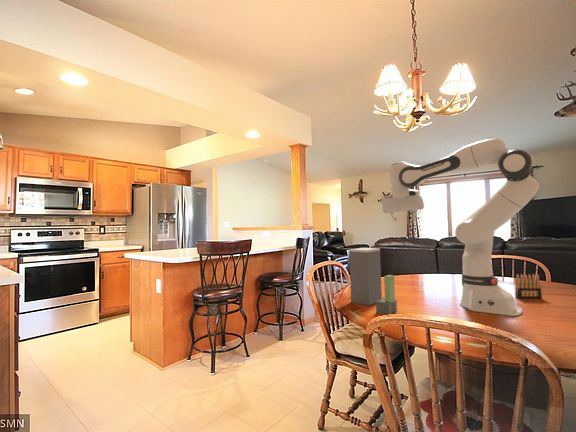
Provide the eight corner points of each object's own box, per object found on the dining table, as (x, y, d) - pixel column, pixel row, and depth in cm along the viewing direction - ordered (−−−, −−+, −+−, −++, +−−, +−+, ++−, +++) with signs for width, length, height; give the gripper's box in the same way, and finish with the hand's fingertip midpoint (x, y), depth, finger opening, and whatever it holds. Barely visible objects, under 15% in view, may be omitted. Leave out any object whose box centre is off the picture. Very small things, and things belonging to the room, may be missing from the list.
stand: (381, 300, 147) (379, 248, 148) (369, 305, 138) (367, 250, 139) (364, 297, 154) (362, 247, 155) (351, 302, 146) (349, 249, 146)
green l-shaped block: (395, 274, 129) (382, 273, 133) (387, 277, 124) (375, 275, 128) (397, 311, 128) (384, 309, 132) (389, 315, 123) (376, 312, 128)
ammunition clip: (539, 298, 144) (538, 273, 144) (542, 299, 142) (540, 274, 143) (515, 297, 146) (514, 273, 146) (517, 298, 144) (516, 274, 144)
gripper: (379, 196, 156) (383, 222, 157) (421, 191, 145) (424, 218, 147) (382, 195, 161) (385, 220, 162) (422, 190, 151) (425, 216, 152)
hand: (404, 219), depth 154 cm, fingers open, 8 cm apart
